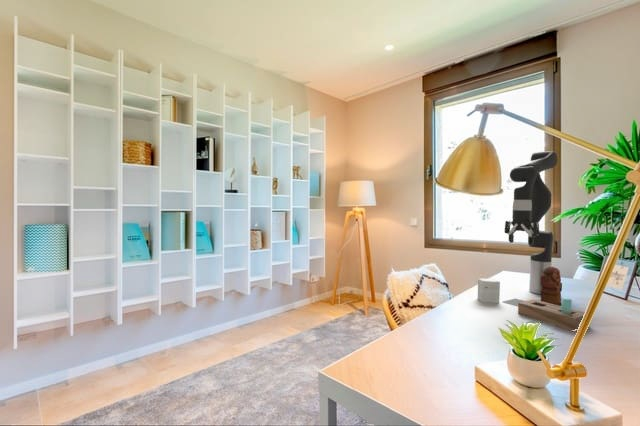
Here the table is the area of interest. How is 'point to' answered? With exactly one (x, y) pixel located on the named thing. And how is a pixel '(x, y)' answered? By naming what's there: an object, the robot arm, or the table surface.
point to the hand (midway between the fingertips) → (520, 243)
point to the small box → (488, 290)
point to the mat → (513, 302)
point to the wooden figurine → (551, 286)
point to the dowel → (566, 305)
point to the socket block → (550, 314)
